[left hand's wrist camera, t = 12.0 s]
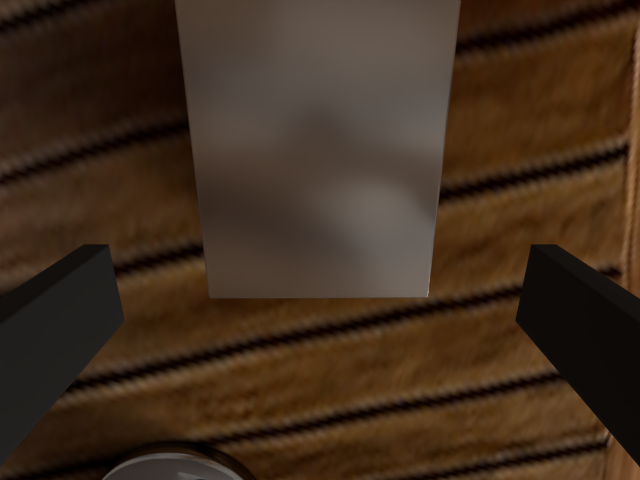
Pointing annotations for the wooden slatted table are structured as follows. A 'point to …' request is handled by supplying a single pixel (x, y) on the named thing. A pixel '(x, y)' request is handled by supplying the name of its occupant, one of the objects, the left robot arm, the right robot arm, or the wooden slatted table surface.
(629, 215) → the wooden slatted table surface
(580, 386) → the left robot arm
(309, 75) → the cabinet
